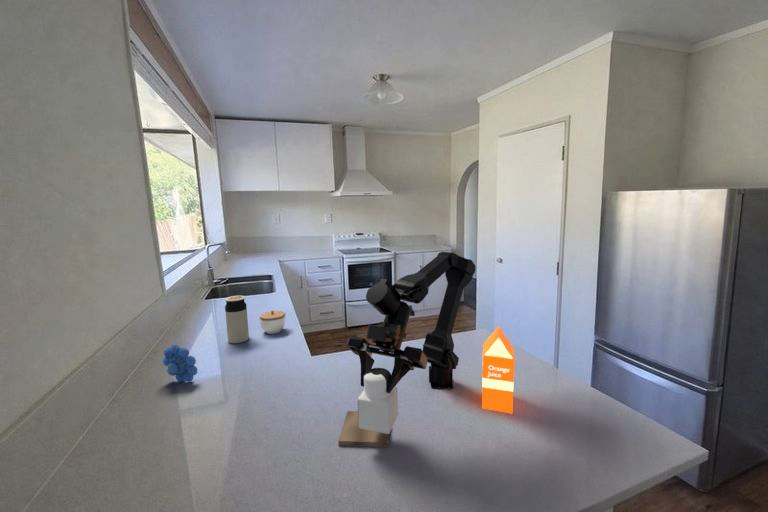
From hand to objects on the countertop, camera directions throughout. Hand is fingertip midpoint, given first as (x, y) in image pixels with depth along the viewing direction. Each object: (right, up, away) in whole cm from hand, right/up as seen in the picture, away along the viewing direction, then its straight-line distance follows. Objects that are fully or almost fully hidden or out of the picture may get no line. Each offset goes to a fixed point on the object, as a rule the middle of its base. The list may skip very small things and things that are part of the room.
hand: (374, 389), depth 71 cm
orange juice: (+33, -10, +17) cm, 38 cm away
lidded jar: (-47, -4, +73) cm, 87 cm away
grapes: (-62, -11, +30) cm, 70 cm away
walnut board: (-2, -12, +7) cm, 14 cm away
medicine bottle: (+1, -8, +3) cm, 9 cm away
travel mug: (-58, -6, +64) cm, 86 cm away
